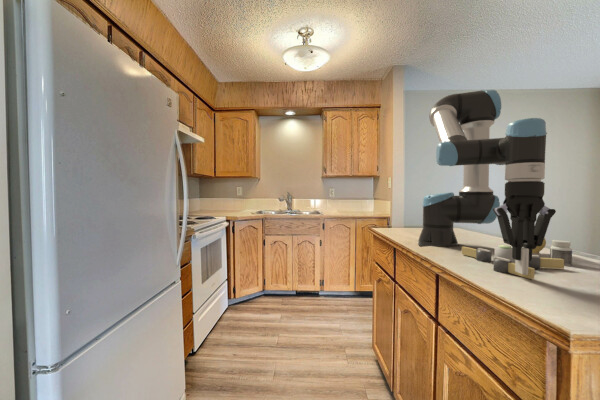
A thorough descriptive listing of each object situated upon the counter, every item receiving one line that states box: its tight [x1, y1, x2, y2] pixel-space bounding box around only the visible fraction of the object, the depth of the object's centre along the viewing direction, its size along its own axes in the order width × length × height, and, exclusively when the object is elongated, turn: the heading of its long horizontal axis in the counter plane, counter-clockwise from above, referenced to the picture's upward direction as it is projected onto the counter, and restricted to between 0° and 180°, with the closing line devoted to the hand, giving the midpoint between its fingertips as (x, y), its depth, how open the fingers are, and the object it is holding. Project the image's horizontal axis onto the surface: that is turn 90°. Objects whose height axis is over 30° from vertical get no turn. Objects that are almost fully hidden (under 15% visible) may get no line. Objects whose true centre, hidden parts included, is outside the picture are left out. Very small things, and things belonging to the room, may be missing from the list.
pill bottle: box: [549, 239, 573, 267], centre depth 76 cm, size 5×5×8 cm
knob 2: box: [493, 256, 536, 280], centre depth 67 cm, size 10×4×4 cm, turn 12°
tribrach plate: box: [493, 244, 515, 263], centre depth 74 cm, size 18×18×7 cm
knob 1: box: [461, 246, 493, 263], centre depth 83 cm, size 10×4×4 cm, turn 15°
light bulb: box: [532, 237, 547, 258], centre depth 83 cm, size 6×6×10 cm
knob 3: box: [528, 255, 565, 271], centre depth 72 cm, size 10×4×4 cm, turn 75°
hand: (521, 272), depth 63 cm, fingers closed
